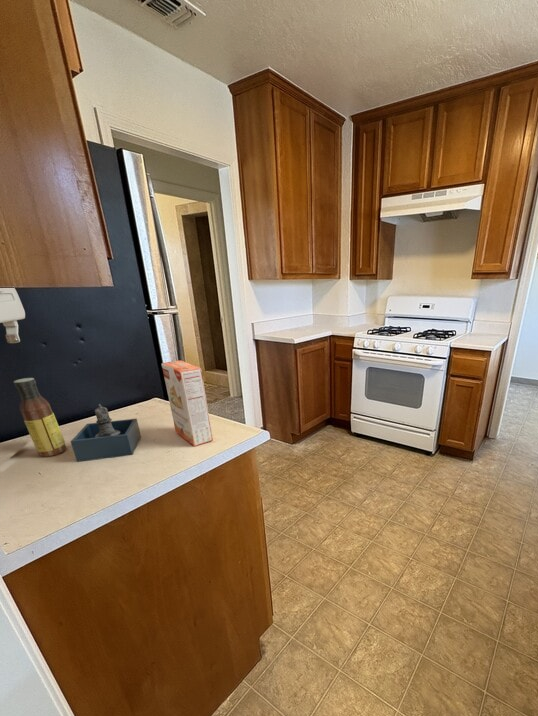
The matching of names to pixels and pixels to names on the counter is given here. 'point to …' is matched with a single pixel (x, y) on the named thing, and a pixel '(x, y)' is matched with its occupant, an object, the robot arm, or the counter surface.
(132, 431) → the bin
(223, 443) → the counter surface
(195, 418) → the cracker box
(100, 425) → the grey chess piece
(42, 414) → the sauce bottle
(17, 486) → the counter surface
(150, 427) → the counter surface
